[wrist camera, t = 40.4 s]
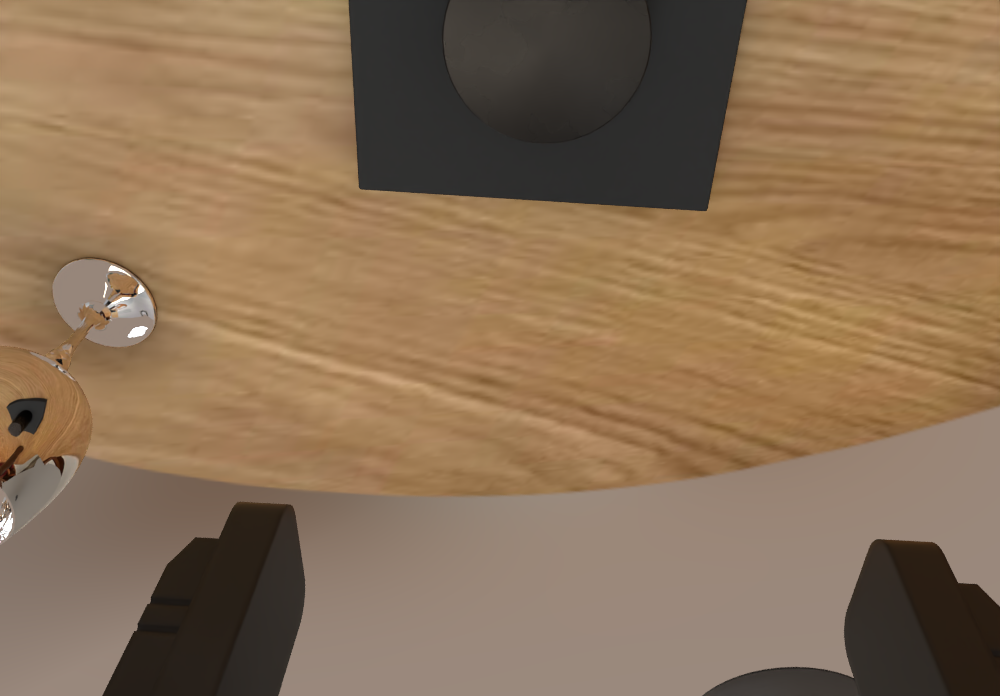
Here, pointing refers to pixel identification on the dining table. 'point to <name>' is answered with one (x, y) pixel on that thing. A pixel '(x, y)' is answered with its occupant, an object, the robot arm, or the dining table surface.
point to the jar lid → (546, 62)
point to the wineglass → (61, 386)
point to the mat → (533, 166)
